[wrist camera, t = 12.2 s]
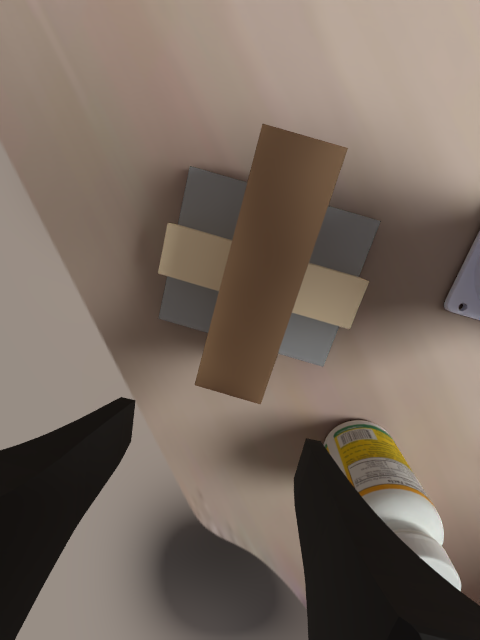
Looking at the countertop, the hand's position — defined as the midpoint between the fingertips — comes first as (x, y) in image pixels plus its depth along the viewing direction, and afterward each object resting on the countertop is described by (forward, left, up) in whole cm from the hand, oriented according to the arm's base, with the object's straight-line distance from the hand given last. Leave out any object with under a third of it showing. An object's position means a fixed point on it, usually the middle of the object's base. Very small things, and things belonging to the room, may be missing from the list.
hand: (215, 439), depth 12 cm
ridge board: (0, -6, -10) cm, 12 cm away
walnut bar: (0, -6, -7) cm, 10 cm away
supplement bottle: (-11, +5, -10) cm, 16 cm away
